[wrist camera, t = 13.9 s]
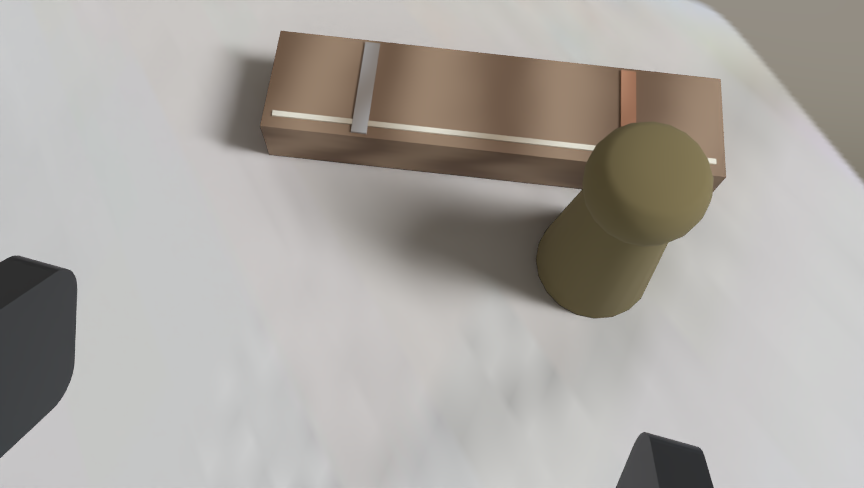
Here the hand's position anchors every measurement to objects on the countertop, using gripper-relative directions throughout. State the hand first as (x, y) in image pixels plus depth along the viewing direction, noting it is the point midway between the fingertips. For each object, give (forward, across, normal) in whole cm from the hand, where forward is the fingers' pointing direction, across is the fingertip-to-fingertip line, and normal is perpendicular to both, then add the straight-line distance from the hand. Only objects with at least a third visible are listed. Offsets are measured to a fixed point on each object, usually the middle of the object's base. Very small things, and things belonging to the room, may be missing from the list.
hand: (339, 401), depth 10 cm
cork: (+29, -8, +8) cm, 31 cm away
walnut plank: (+33, -1, +4) cm, 33 cm away
